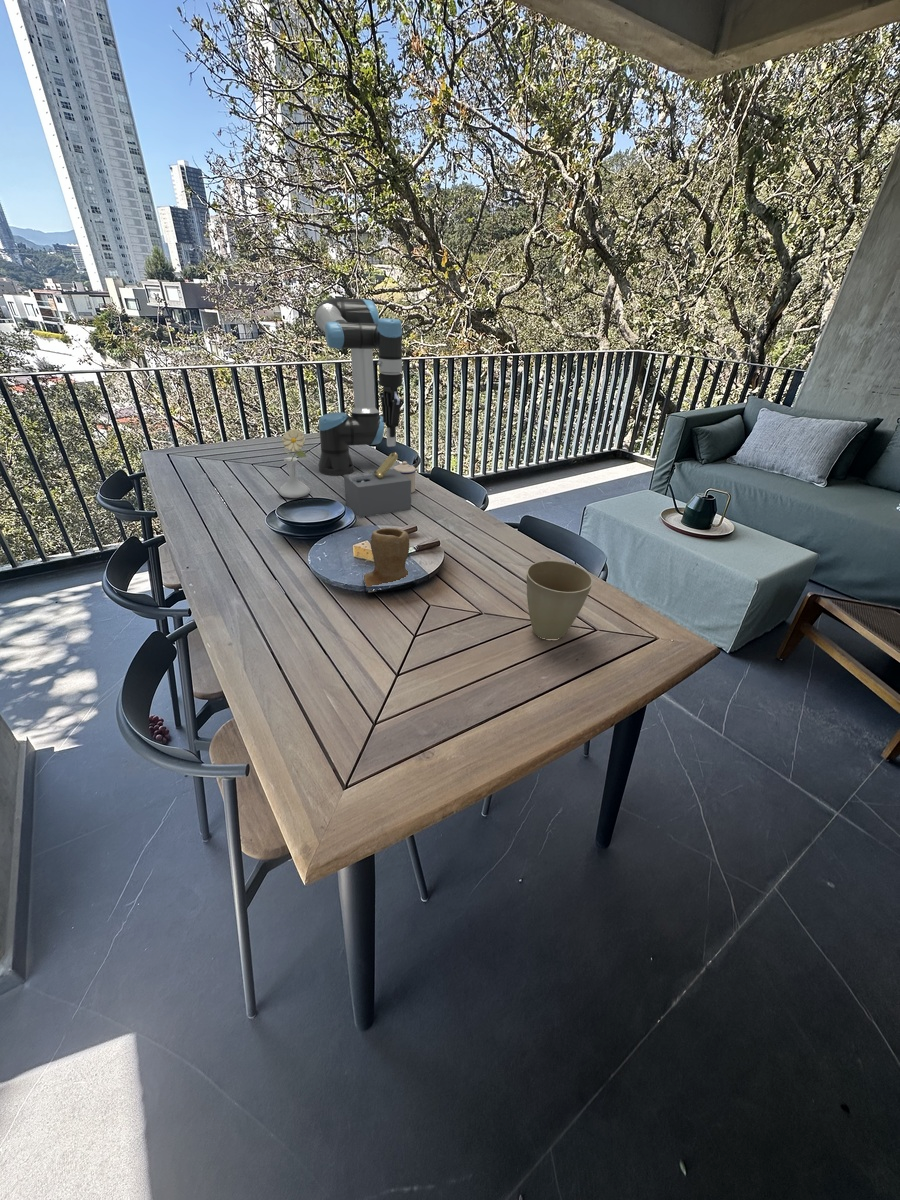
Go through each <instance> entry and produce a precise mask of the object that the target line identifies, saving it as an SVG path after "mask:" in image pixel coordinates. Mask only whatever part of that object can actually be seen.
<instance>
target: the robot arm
mask: <svg viewBox="0 0 900 1200" xmlns="http://www.w3.org/2000/svg"><path fill="white" fill-rule="evenodd" d="M314 321H315V323H316V325H317V327H318V328H319V329H320V330H321V331H322V332H324V333H325V334H324V335H325V336H324V337H325V342H326V345H327V347H328V348H330V349H336V350H340V349H350V354H351V355H350V357H351V370H352V371H351V373H352V385H353V387H352V388H353V401H354V403H353V404H354V407H353V409H352V410H351V411H350V412H351V416H348V414H347V413H346V412H343V411H341V412H339V411H338V412H329V413H325V414H323V415H321V417H319V419H318V430H319V439H320V442H319V443H320V457H319V461H318V465H317V466H318V468H317V469H318V472H319V473H320V474H323V475H328V476H344V475H348V474H353V472H354V471H355V467H354V466H355V465H354V462H353V460H352V457H351V454H350V448H349V446H366V445H367V446H373V445H378V444H380V443H382V440H383V438H384V432H385V426H386V447H388V448H391V447H396V440H397V439H396V437H397V436H396V428H397V427H399V425H400V415H401V407H402V406H401V405H402V402H403V400H402V398H401V397H400V398H399V389H398V388H399V387H402V384H403V375H402V374H401V373H402V372H403V359H402V358H403V353H402V352H403V345H402V344H403V327H402V321H401V320H400V319H398V318H387V317H385V318H384V317H382V318H380V315H379V311H378V307H377V305H376V304H375V302H374V301H373V300H371V299H364V298H340V297H333V298H331V297H330V298H328V299H325V300H323V301H321V302H320V303H319V304H318V305H317V306H316V308H315V310H314ZM373 350H377V351H378V361H377V365H378V371H379V372H380V373H378V384H379V386H380V387H382V388H383V389H382V391H381V392H379V397H380V401H381V412H382V415H380V411H379V410H378V409H377V408H376V398H375V397H376V396H375V394H376V393H375V378H374V377H375V375H374V373H375V372H374V357H373V355H374V354H373V353H374V352H373Z"/></svg>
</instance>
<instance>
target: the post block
mask: <svg viewBox="0 0 900 1200" xmlns="http://www.w3.org/2000/svg"><path fill="white" fill-rule="evenodd" d="M375 471H376V470H375ZM375 471H373V470H372V471H365V472H363V473H368V472H370V473H372V474H373V479H371V480H366V482H359V483H357V481H356V482H351V481H350V480H349V475H352V474H353V473H349V474H345V475H343V484H344V499H345V505H346V506H347V507H348V508H349V507H350V508H351V509H352V510H353V511H354V512H355V513H356V514H357V515H358V516H359V517H360V518H366V517H371V516H370V515H373V516H377V515H376V514H379V515H383V514H382V513H385V514H389V513H391V514H392V513H397V512H401V511H409V510H412V509H411V508H412V493H411V480H410V479H409V478H407V477H406V476H404V475H403V474H401V473H400V472H398V471H397V470H396V469H393V468H390V469H389V470H388V471H387V472H386V473H385V475H384V476H383V478H382V479H380V478H378V477H377V476H376V475H374V472H375ZM360 473H361V472H358V473H355V474H360ZM350 508H349V509H350ZM351 509H350V510H351ZM352 510H351V511H352ZM353 511H352V512H353ZM354 512H353V513H354ZM355 513H354V514H355ZM356 514H355V515H356ZM357 515H356V516H357ZM358 516H357V517H358ZM365 516H366V517H365ZM359 517H358V518H359Z"/></svg>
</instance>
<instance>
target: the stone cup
mask: <svg viewBox="0 0 900 1200" xmlns="http://www.w3.org/2000/svg"><path fill="white" fill-rule="evenodd" d="M370 549H371V552H372V553H371V555H372V558H373V561H374V569H373V570H372V571H370V572H368V573H364V574H365V575H364V579H363V582H364V581H365V583H364V585H365V584H366V586H367V587H370V586H372V585H379V584H382V583H388V582H393V581H396V580H400V579H401V578H404V577H406V575H408V571H407V570H408V569H407V568H406V564H407V563H406V562H407V559H408V556H409V552H410V537H409V533H408V532H407V531H406V530H405V529H404V530H403V529H400V528H397V527H396V528H395V527H384V528H378V529H375V530H373V531H372V533H371V538H370ZM406 569H407V570H406ZM374 592H376V591H368V592H367V593H374Z"/></svg>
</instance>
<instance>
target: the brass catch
mask: <svg viewBox="0 0 900 1200" xmlns="http://www.w3.org/2000/svg"><path fill="white" fill-rule="evenodd" d="M398 456H399V455H398V453H397V452H396V451H393V452H391V453H390V454H389V455H388V456H387V457H386V459H385V460H384V461H383V462H382V463H381V465H379V467H378V469H376V470H375V472H374V475H376V476H377V477H378V478H380V479H382V478H383V476H384V475H385V473H386V472H387V471H388V470H389V469H391V468H392V466H393V465H394V464H395V463H396V461H397V460H398V459H399V457H398Z"/></svg>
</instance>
